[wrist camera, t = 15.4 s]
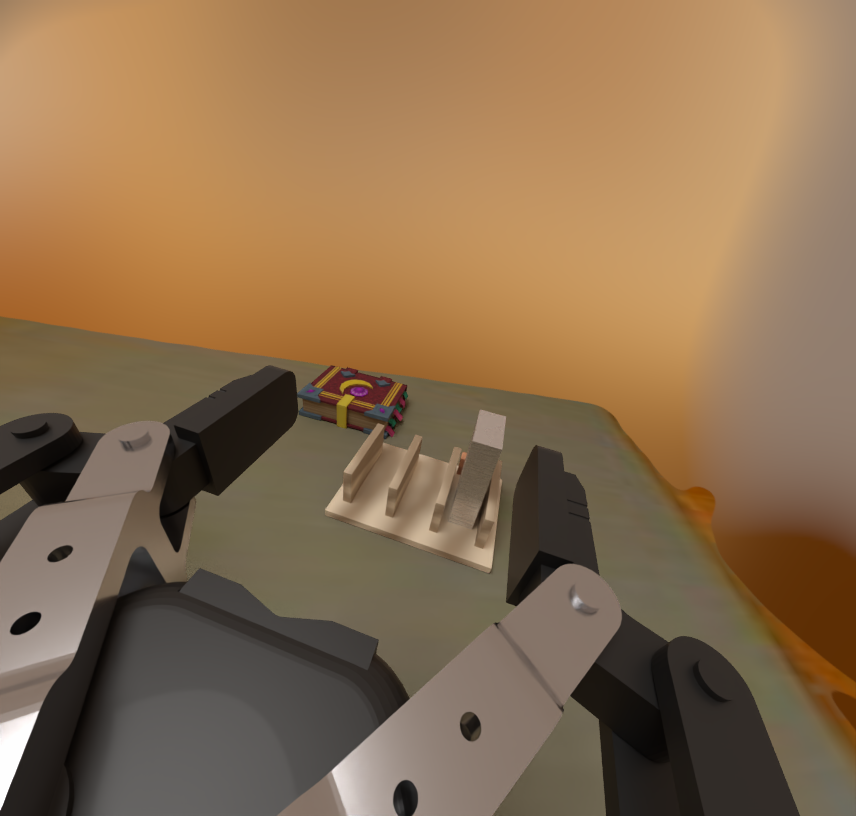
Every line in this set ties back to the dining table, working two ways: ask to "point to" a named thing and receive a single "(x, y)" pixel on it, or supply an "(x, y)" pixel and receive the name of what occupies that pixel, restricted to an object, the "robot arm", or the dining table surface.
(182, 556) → the robot arm
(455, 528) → the slot rack
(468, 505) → the aluminium block
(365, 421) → the decorative book
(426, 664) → the dining table surface
